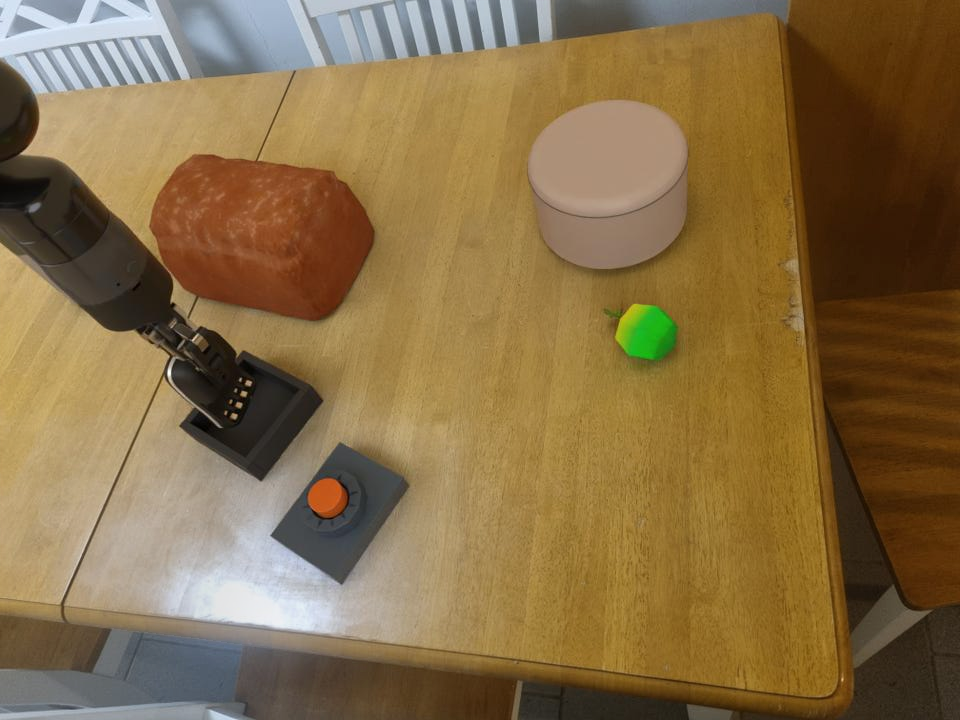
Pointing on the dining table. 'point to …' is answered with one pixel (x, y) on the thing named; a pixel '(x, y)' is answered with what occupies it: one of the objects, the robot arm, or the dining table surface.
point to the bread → (261, 234)
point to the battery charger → (213, 387)
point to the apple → (645, 331)
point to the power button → (327, 498)
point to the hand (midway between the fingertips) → (207, 370)
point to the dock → (259, 419)
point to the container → (610, 183)
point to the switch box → (342, 513)
